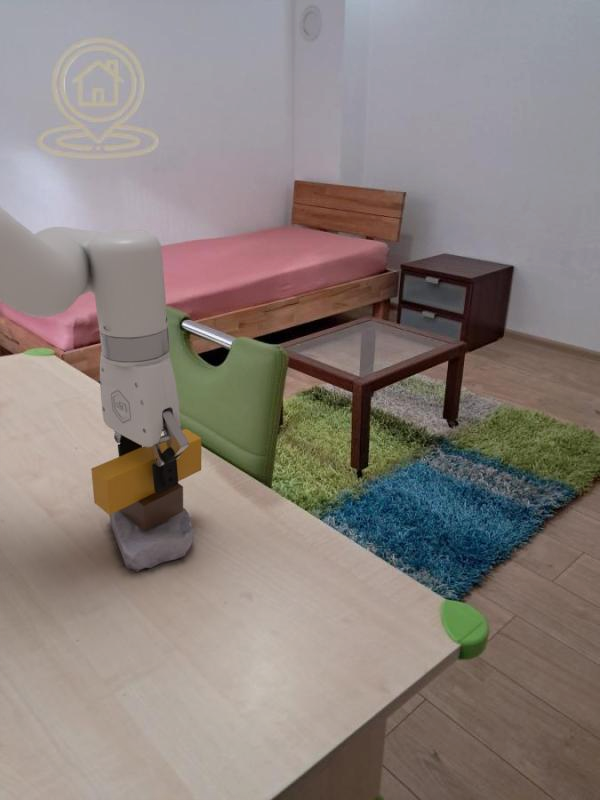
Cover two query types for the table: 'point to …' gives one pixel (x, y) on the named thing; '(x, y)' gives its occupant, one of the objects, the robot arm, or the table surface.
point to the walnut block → (155, 508)
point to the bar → (138, 474)
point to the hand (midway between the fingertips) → (149, 477)
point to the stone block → (152, 540)
